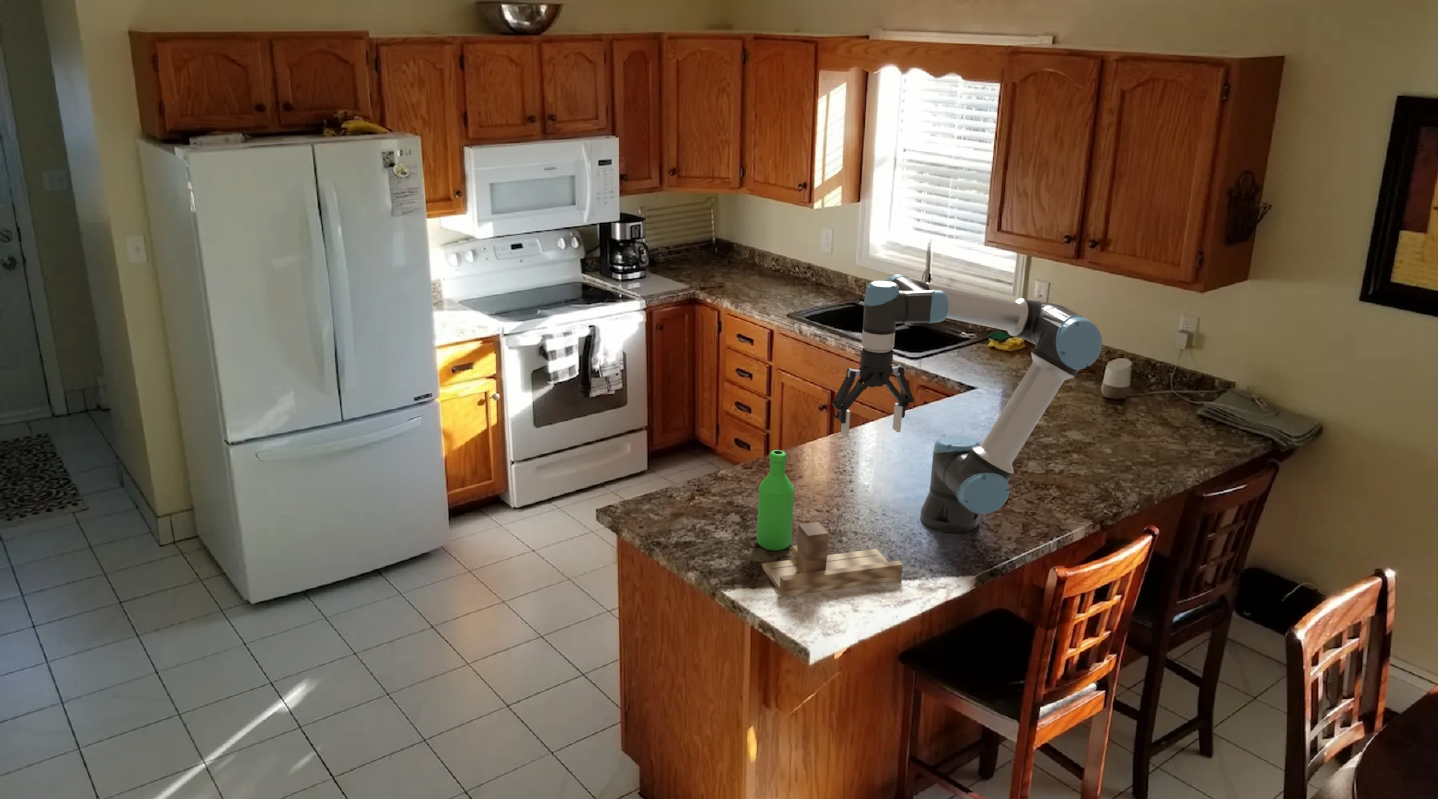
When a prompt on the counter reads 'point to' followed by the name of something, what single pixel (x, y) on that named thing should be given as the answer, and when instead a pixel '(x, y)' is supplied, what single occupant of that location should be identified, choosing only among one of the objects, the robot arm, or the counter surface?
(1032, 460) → the counter surface
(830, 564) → the board
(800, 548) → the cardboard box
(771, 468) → the bottle
